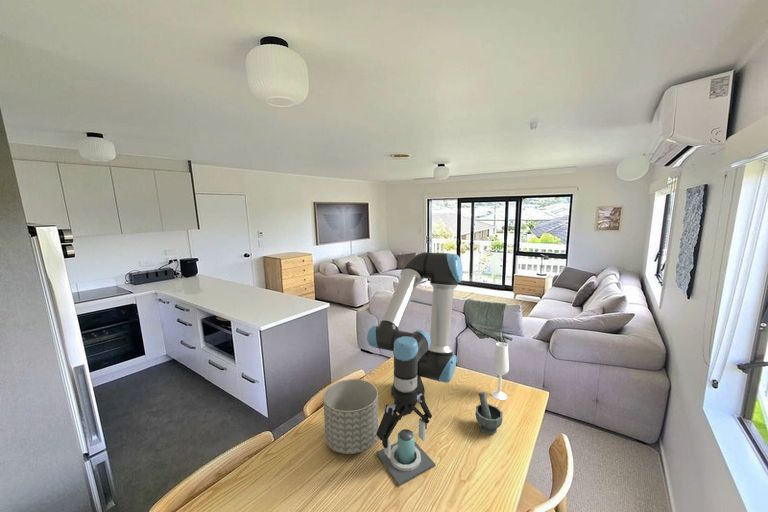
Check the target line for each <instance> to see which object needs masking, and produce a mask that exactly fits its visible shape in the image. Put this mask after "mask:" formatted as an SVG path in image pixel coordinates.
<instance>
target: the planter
mask: <svg viewBox="0 0 768 512" xmlns="http://www.w3.org/2000/svg"><path fill="white" fill-rule="evenodd" d="M323 420H324V421H323V423H324V424H323V425H324V441H325V443H326V445H327V446H328V447H329V448H330V449H331V450H332V451H334V452H336V453H340V454H343V455H354V454H359V453H362V452H364V451H367V450H368V449H369V448H371V447H372V446H373V445H374V444H375V442H377V439H378V438H379V437H378V436H377V435H376V433H377V431H378V428H379V391H378V388H377V387H376V385H374V384H373V383H371V382H370V381H368V380H365V379H359V378H349V379H343V380H340V381H337V382H334V383H333V384H332V385H329V386H328V388H327V389H326V390H325V392H324V394H323Z"/></svg>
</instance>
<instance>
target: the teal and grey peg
mask: <svg viewBox="0 0 768 512" xmlns="http://www.w3.org/2000/svg"><path fill="white" fill-rule="evenodd" d="M415 438H416V437H415V433H414V432H413V431H412V430H410V429H408V428H405V429H401V430H399V431H398V433H397V442H398V460H399V462H400V463H402V464H404V465H409V464H411V463H413V462H414V448H415V442H416V441H415V440H416V439H415Z"/></svg>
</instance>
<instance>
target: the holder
mask: <svg viewBox="0 0 768 512" xmlns="http://www.w3.org/2000/svg"><path fill="white" fill-rule="evenodd" d="M376 456H377V457H378V458H379V460H380V461H381V463H382V465H383V466H384V467H385V468H386V470H387V471H388V473H389V474H390V476H391V477H392V479H393V480H394V482H395V483H396V485H397V486H398V487H401V486H402V485H405V484H406V483H408V482H409V481H411V480H413V479H415V478H417V477H419V476H421V475H422V474H424V473H426V472H427V471H430V470H431V469H434V468H435V467H436V463H435V462H434V460H432V459H431V458H430V456H429V455H428V454H427V453H426V452H425V450H423V448H421V446H420V445H419V444H418V443H417V442H416V441H415V448H414V462H413V463H411V464H409V465H404V464H402V463H400V462H399V460H398V441H397V442H395V443H393V444H391V458H388V457H387V455H386V454H385V453H384V448H382V449H380V450H377V451H376Z"/></svg>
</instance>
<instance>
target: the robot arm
mask: <svg viewBox="0 0 768 512" xmlns="http://www.w3.org/2000/svg"><path fill="white" fill-rule="evenodd" d="M463 272H464V271H463V263H462V258H461V257H460V256H459V255H458V254H456V253H445V252H428V251H427V252H420V253H418V254H415V256H413V257H411V258H410V259H409V260H408V261H407V262H406V263H405V264H404V266H403V267H402V269H401V270H400V274H399V276H400V279H399V281H398V284H397V285H396V288H395V290H394V291H393V294H392V296H391V299H390V301H389V303H388V305H387V307H386V310H385V312H384V314H383V316H382V318H381V320H380V322H379V324H378V325H372V326H371V327H370V328H369V330H368V331H367V336H366V340H367V344H368V345H369V346H370V347H372V348H376V349H379V350H380V349H381V350H385V351H390V352H392V353H393V382H392V385H391V388H390V390H391V392H390V393H391V396H392V398H393V399H394V402H393V404H392V405H389V404H386V405H385V407H384V412H383V415H382V418H381V420H380V423H379V424H378V431H377V433H376V435H377V436H378V437H377V438H378V439H379V440H380V441H381V442H382V443H381V444H382V447H383V449H384V453H385V454H386V455H387V457H388V458H391V445H392V444H391V443H392V441H391V437H390V436H391V435H392V432H393V431H394V430H395V427H396V426H397V424H398V422H399V421H401V419H402V418H403V417H405V416H407V415H410V414H412V412H414V413H415V414H416V415H417V416H418V417H420V418H419V419H418V437H419V439H420V440H421V441H422V442H425V441H426V430H427V427H428V424H429V423H430V419H432V417H433V415H432V413H431V411H430V409H429V406H428V405H427V403H426V397H425V395H426V394H425V386H424V383H423V381H422V378H425V379H428V380H433V381H437V382H439V383H440V382H442V383H445V384H446V383H450V382H451V381H452V378H453V377H454V374H455V371H456V368H457V367H456V366H457V361H458V360H457V358H458V357H457V355H455V354H454V353H453V352H454V350H453V348H452V346H451V334H452V333H451V330H452V329H451V328H452V316H453V303H454V302H453V301H454V300H453V299H454V291H455V288H457V287H458V284H459V283H460V282H462V280H463ZM423 279H428V280H429V284H430V285H431V286H432V301H431V303H432V304H431V316H430V329H429V334H428V333H427V331H424V330H421V329H417V330H415V331H413V332H410V331H402V330H400V328H401V325H402V323H403V320H404V318H405V315H406V312H407V310H408V308H409V305H410V303H411V301H412V298H413V296H414V293H415V292H416V290H417V289H416V288H417V286H418V285H419V284H420V283H421V282H422V280H423ZM417 403H419V406H420V407H421V410H422V411H423V413H422V412H421V411H420V410H419V409H418V408H417V407H416V405H417ZM397 413H398V414H397Z"/></svg>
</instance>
